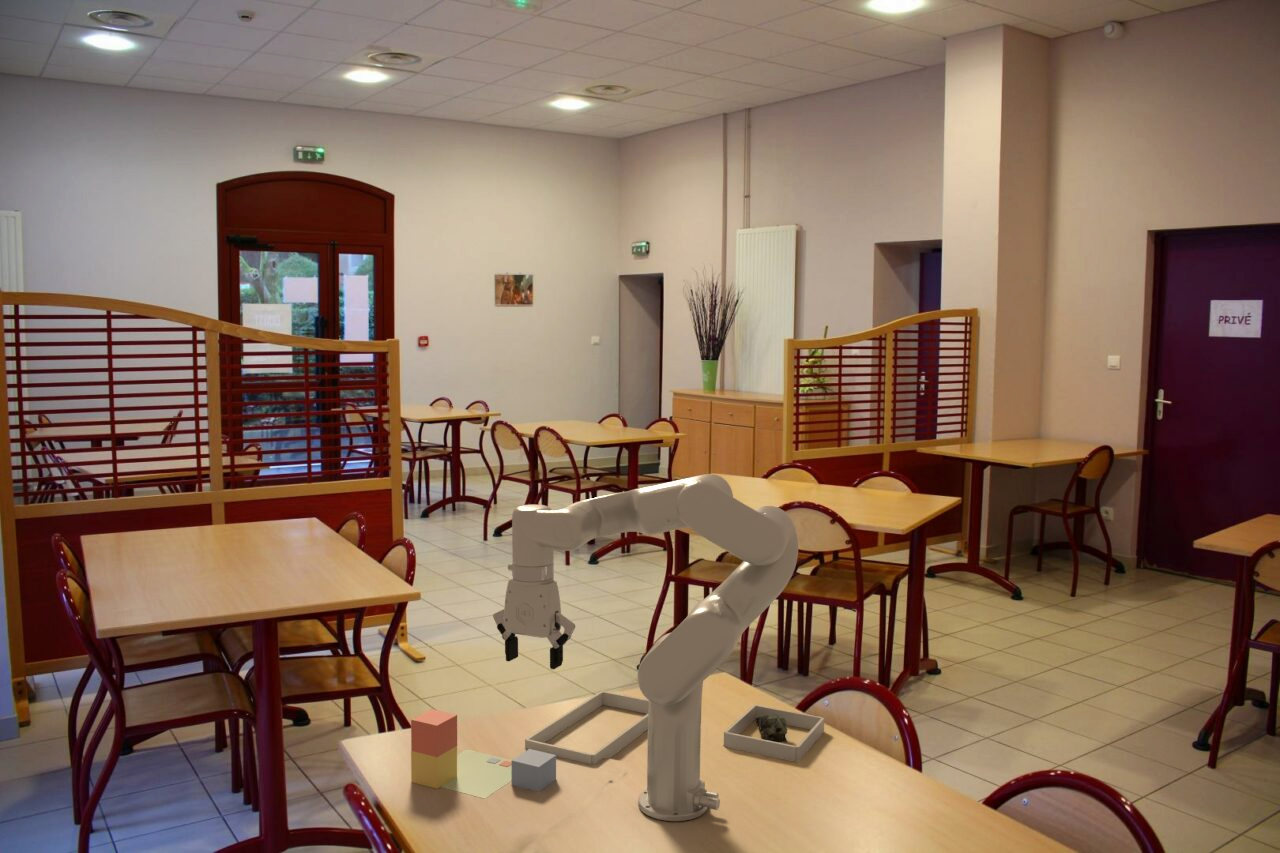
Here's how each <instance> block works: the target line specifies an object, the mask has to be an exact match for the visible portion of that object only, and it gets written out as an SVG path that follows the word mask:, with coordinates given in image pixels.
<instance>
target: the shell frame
mask: <svg viewBox="0 0 1280 853" xmlns="http://www.w3.org/2000/svg"><path fill="white" fill-rule="evenodd" d="M770 714H777V715H780V716H782V717H783V718H784V719H785V720H786V726H791V727H796V728H800V729H801V728H802V729H804V730H805V729H806V730H809V731H808V733H807V734H806V735H804V737H803V738H802V739H801V741H800V742H799V743H798V744H797V745H792V744H787V743H784V742H780V743H778V742H773V741H768V740H763V739H761V738H759V737H753V736H748V735H743V734H741V733H742V732H743V731H745V730H746V728H747V727H749V726H750V725H751V724H752V723H753V722H754V721H755V720H757V719H756V718H758V717H760V716H761V717H763V716H767V715H770ZM824 732H825V717H822V716H817V715H812V714H807V713H801V712H796V711H791V710H787V709H785V710H784V709H780V708H776V707H770V706H765V705H759V704H753V705H752V706H751V707H750V708H748V710H747V711H745V712H744V713H743V714H742V715H741V716H739V718H738V719H736V721H734V722H733V723H732V724H731V725H730V726H729V727H727V729H725V730H724V732H723V747H725V748H727V749H728V748H729V749H733V750H736V751H737V750H738V751H744V752H748V753H752V754H756V755H761V756H766V757H771V758H775V759H781V760H786V761H789V762H800V761H801V760H802V759H803V757H804V756H805V755H806V754H807V753H808V751H810V749H811V747H813V745H814V744H815V743H816V742H817V740H819V738H820V737H821V736H822V735H823V733H824Z"/></svg>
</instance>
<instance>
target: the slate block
mask: <svg viewBox="0 0 1280 853" xmlns="http://www.w3.org/2000/svg"><path fill="white" fill-rule="evenodd" d="M511 760H512V781H511V786H515V787H518V788H523V789H527V790H530V791H534V792H537V793H539V792H541V791H542V790H544V789H545V788H547V786H549V785H550V784H551V783H553V782H554V781H556V780H557V756H556V755H554V754H549V753H545V752H541V751H537V750H532V749H526V751H524V752H522V753H521V754H519V755H517V756H515V757H514V758H513V759H511Z"/></svg>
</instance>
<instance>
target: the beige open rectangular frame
mask: <svg viewBox="0 0 1280 853" xmlns="http://www.w3.org/2000/svg"><path fill="white" fill-rule="evenodd" d="M602 706H608V707H613V708H616V709H617V708H618V709H622V710H626V711H632V712H636V713H642V714H645V715H644V716H643V717H641V718H640V719H638V720H637V721H636V722H634V723H633V724H631V726H629V727H628V728H626V729H624V731H622V732H621V733H619V734H618V735H617V736H615V737H614V738H612V739H611V740H610V741H609V742H607V743H605V745H603V746H602V747H600V748H599V749H598V750H596V751H595V752H593V753H591V752H590V753H588V752H586V751H582V750H581V751H580V750H576V749H572V748H567V747H563V746H559V745H554V744H550V743H547V742H548V741H550V740H552V737H553V738H555V737H556V736H557V735H559V734H560V733H562V732H563V731H565V730H566V729H568V728H569V726H570V727H571V726H572V724H573V725H574V724H576V723H577V722H578V721H580V720H582V719H584V718H585V717H586V716H588V715H589V714H591V713H593V712H594V711H595V710H598V709H599V708H600V707H602ZM648 707H649V700H648V699H647V698H646V699H645V698H640V697H636V696H632V695H631V696H630V695H626V694H621V693H615V692H609V691H603V690H601V691H598V693H596V694H593V696H591V697H589V698H587V699H586V700H585V701H583V702H582V703H580V704H578V705H577V706H575V707H574V708H572V709H570V710H569V711H568V712H566V713H564V714H562V715H561V716H559V717H558V718H556V719H555V720H553V721H552V722H550V723H548V724H547V725H545V726H543V727H542V728H541V729H539V730H538V731H536V732H534V733H533V734H531V735H530V736H528V737H526V738H525V739H524V749H526V750H528V749H532V750H537V751H541V752H545V753H549V754H554V755H556V757H558V758H563V759H565V760H566V759H567V760H572V761H576V762H580V763H584V764H589V765H596V764H597V763H599V762H600V761H601V760H602V759H604V758H606V759H611V758H612V757H613V756H615V755H616V754H617V753H618V752H620V751H621V750H623V749H625V747H626V746H628V745H629V744H630V743H632V742H633V741H635V740H636V739H637V738H638V737H639V736H641V735H643V732H644V733H645V732H646V731H648ZM567 727H568V728H567ZM564 729H565V730H564ZM562 730H563V731H562ZM561 731H562V732H561ZM559 732H560V733H559ZM558 733H559V734H558ZM556 734H557V735H556ZM555 735H556V736H555ZM549 739H550V740H549ZM546 741H547V742H546Z"/></svg>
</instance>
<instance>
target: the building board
mask: <svg viewBox="0 0 1280 853" xmlns="http://www.w3.org/2000/svg"><path fill="white" fill-rule="evenodd" d="M512 760H513V759H508V758H506V757H505V758H504V757H500V756H497V755H496V756H495V755H492V754H488V753H484V752H479V751H476V750H472V749H468V748H467V749H464V750H463V751H461V752H459V753H457V777H455V778H454V779H452V780H451V781H449V782H447V783H446V784H444V785H442V786H441V787H440V788H442V789H447V790H450V791H454V792H458V793H461V794H465V795H469V796H473V797H477V798H479V799H483V800H485V799H487V798H488V797H490V796H491V795H493V794H494V793H496V792H498V791H499V790H500V789H501V788H503V787H505V786H506V785H508V784H509V783H510V782H512Z"/></svg>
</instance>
